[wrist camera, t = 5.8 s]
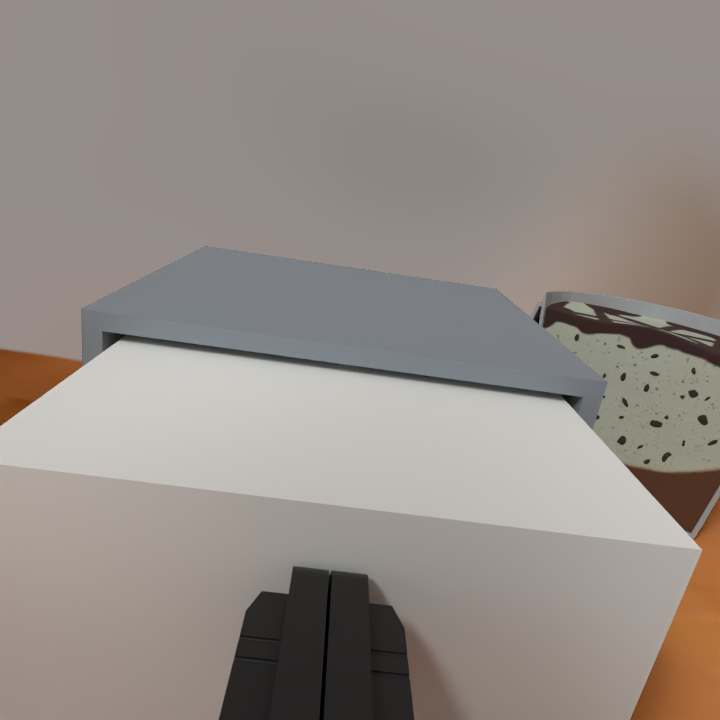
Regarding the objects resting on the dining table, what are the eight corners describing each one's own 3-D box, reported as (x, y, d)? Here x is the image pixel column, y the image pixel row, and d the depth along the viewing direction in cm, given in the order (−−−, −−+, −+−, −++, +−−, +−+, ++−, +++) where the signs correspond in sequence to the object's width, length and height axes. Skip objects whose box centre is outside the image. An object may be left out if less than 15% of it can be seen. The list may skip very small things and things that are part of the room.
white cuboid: (587, 817, 13) (702, 549, 11) (-14, 763, 12) (-45, 458, 10) (438, 402, 36) (462, 288, 34) (228, 374, 36) (236, 255, 33)
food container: (739, 507, 31) (812, 340, 28) (728, 556, 26) (815, 360, 23) (532, 424, 38) (572, 282, 34) (494, 451, 33) (535, 289, 30)
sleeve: (530, 623, 20) (607, 381, 17) (86, 573, 19) (81, 308, 16) (460, 443, 33) (496, 288, 30) (196, 408, 32) (205, 246, 29)
